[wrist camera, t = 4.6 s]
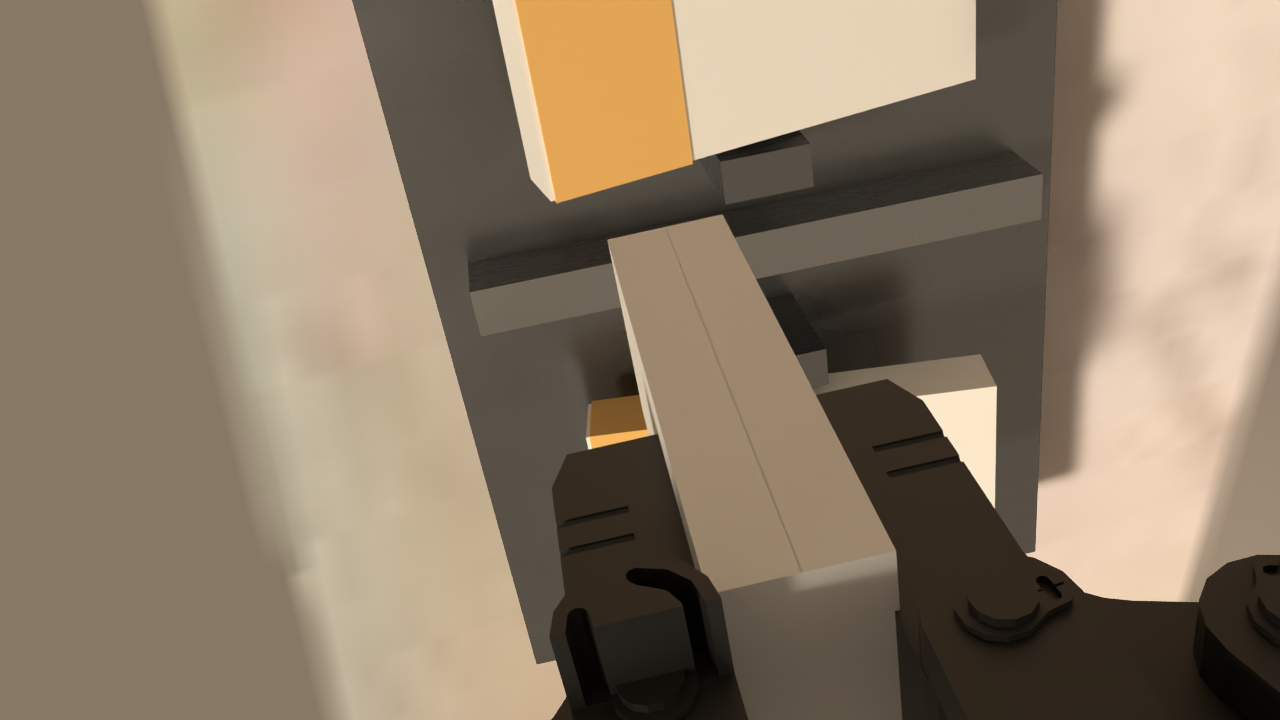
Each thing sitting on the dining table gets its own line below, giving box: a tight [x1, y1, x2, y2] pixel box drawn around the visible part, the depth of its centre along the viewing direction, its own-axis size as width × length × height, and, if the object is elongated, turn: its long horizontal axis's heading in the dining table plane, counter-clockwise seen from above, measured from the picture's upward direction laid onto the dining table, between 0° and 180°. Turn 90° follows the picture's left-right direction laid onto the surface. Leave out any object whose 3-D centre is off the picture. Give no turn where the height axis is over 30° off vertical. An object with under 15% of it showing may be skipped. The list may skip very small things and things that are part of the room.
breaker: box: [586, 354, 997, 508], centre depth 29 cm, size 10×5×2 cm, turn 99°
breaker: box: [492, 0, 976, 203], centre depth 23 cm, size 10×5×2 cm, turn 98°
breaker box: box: [352, 0, 1057, 664], centre depth 28 cm, size 16×26×6 cm, turn 9°
